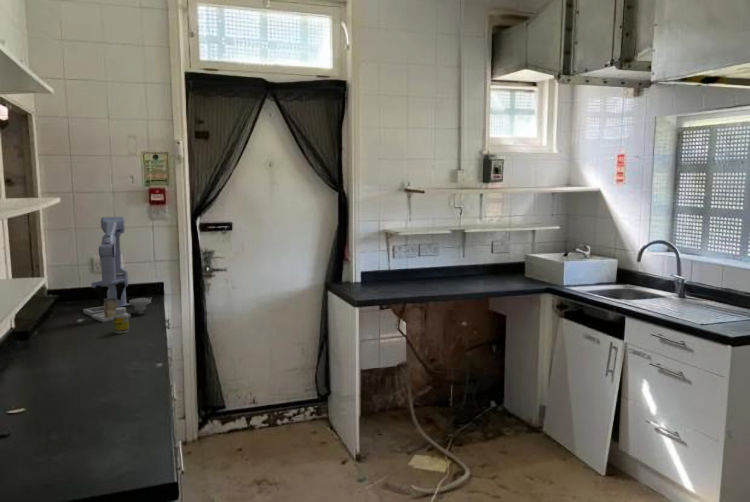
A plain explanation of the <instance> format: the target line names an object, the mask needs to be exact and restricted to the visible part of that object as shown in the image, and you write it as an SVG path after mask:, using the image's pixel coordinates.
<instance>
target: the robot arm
mask: <svg viewBox="0 0 750 502" xmlns="http://www.w3.org/2000/svg"><path fill="white" fill-rule="evenodd" d="M100 227H101V229H102V232H103V233H104V234H103V236H102V238H101V243H100V245H99V246H98V256H99V261H100V269H101V270H100V271H101V280H99V281H95V282H91V285H90V286H91V288H93V290H94V292H95V293H96V295H97V297H98V300H99V303H101V304H104V288H103V287H107V288H108V289H107V291H106V296H107V297H106V299H108V298H115V299H117V308H119V307H125V306H126V307H127V306H131V305H130V304H129V302H128V303H127V292H126V291H127V290H126V288H127V287H128V286H129V275H128V270H127V269H125V268H123V267H122V255H121V235H123V234H124V233H125V230H126V229H125V218H124V216H102V217H101V218H100Z"/></svg>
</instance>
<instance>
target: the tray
mask: <svg viewBox="0 0 750 502" xmlns="http://www.w3.org/2000/svg"><path fill="white" fill-rule="evenodd" d="M130 318H131V314H130V313H128V319H130ZM91 319H94V320H96V321H98V322H101V323H103V324H104V323H109V322H114V317H110V318H107V317H105V313H99V314H93V315H92V317H91Z"/></svg>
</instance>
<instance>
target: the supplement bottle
mask: <svg viewBox="0 0 750 502" xmlns="http://www.w3.org/2000/svg"><path fill="white" fill-rule="evenodd" d="M115 312H116V314H114V321H113V326H114V327H113V328H114V333H115V334H126V333H128V332H129V331H130V326H129V325H130V323H129V322H130V321H129V318H128V314H129V313H127V307H125V306H121V307H117V308H116V309H115Z"/></svg>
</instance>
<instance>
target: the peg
mask: <svg viewBox="0 0 750 502" xmlns="http://www.w3.org/2000/svg"><path fill="white" fill-rule="evenodd" d="M103 306H104V313H105V317H107V318H110V317H114V314H116V312H115V309H116V308H118V307H117V299H115V298H108V299H107V298H103Z"/></svg>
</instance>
